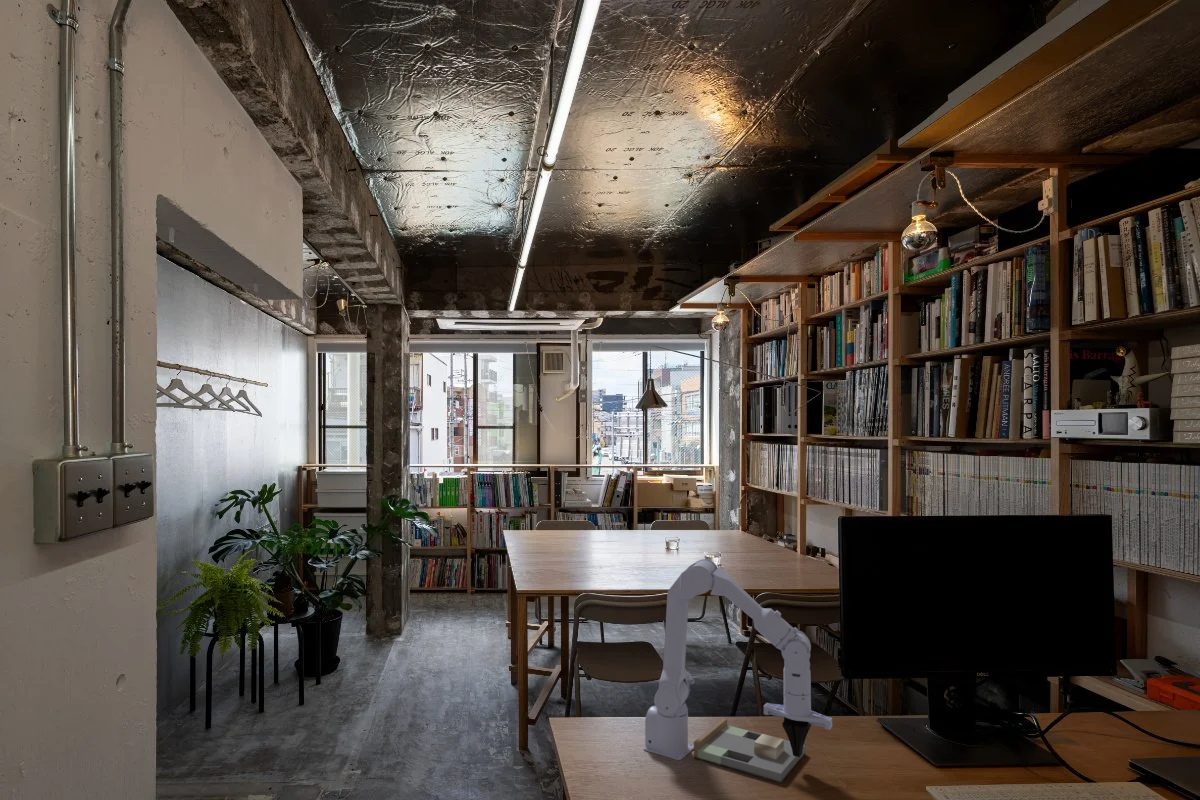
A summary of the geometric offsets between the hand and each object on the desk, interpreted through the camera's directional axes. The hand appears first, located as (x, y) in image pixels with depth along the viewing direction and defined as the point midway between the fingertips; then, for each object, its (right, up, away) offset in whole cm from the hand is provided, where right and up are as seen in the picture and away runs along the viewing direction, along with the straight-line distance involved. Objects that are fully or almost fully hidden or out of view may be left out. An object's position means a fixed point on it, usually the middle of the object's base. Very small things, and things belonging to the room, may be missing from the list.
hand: (797, 754), depth 152 cm
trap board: (-9, -3, +6) cm, 11 cm away
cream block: (-5, -1, +4) cm, 6 cm away
